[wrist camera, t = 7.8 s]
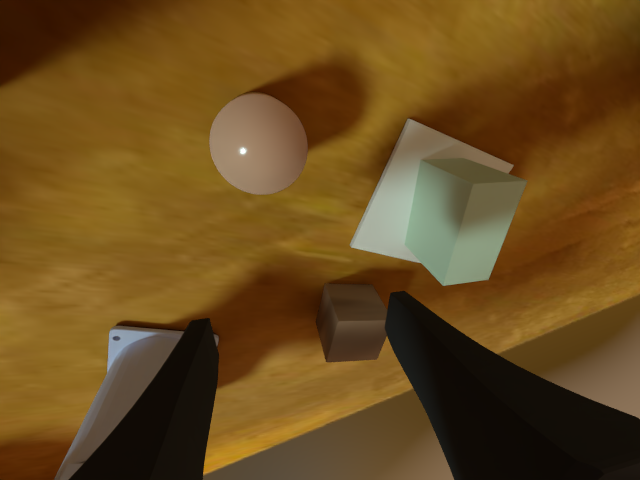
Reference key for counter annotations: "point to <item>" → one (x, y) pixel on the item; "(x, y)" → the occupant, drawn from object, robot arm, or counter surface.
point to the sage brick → (461, 218)
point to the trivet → (408, 187)
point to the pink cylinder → (258, 143)
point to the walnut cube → (351, 322)
